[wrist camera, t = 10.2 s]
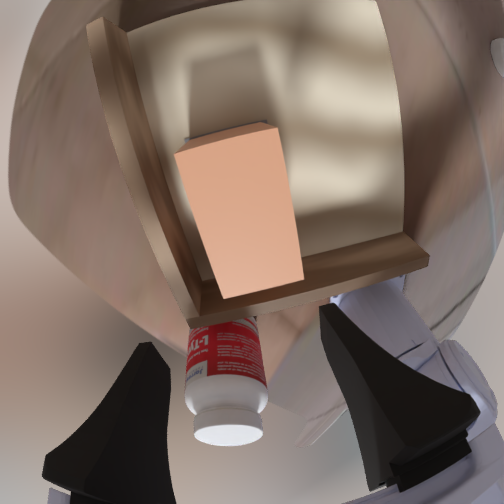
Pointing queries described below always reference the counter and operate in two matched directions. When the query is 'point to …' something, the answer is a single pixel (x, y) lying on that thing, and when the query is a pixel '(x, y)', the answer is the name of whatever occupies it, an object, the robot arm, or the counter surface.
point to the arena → (272, 113)
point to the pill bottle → (226, 382)
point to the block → (243, 207)
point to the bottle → (498, 54)
